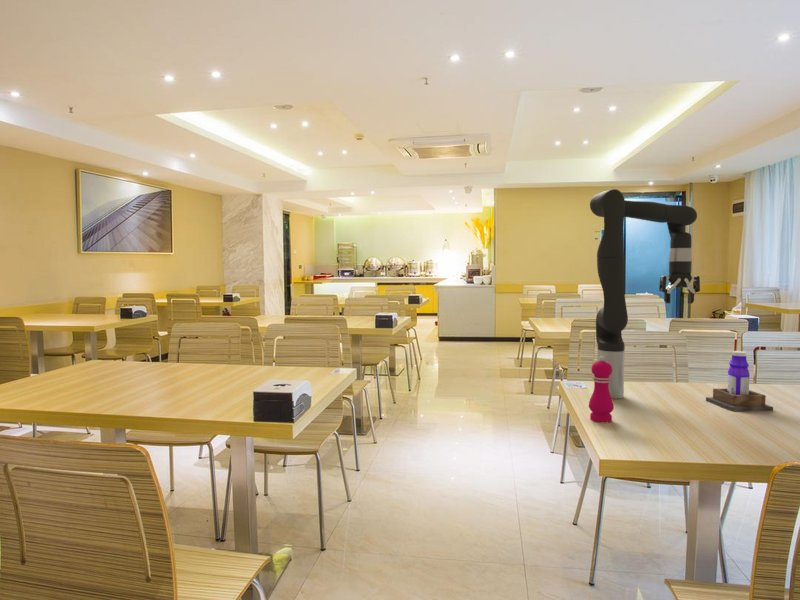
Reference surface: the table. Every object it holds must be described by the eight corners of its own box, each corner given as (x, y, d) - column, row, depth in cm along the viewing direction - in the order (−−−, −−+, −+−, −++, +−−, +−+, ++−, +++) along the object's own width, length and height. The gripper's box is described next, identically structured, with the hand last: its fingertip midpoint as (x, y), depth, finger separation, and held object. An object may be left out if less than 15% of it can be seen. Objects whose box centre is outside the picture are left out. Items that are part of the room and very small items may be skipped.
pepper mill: (601, 415, 168) (602, 353, 167) (618, 421, 162) (619, 357, 161) (583, 418, 166) (584, 355, 165) (599, 424, 159) (601, 358, 158)
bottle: (751, 404, 177) (753, 353, 176) (733, 404, 178) (734, 353, 177) (742, 399, 184) (743, 350, 183) (724, 399, 185) (725, 349, 184)
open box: (731, 410, 174) (731, 396, 173) (705, 400, 188) (706, 387, 187) (773, 410, 174) (773, 396, 174) (744, 400, 188) (744, 387, 188)
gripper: (666, 260, 195) (665, 304, 196) (704, 260, 195) (703, 304, 196) (656, 260, 202) (655, 302, 203) (693, 260, 202) (692, 302, 203)
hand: (679, 303), depth 199 cm, fingers open, 8 cm apart
